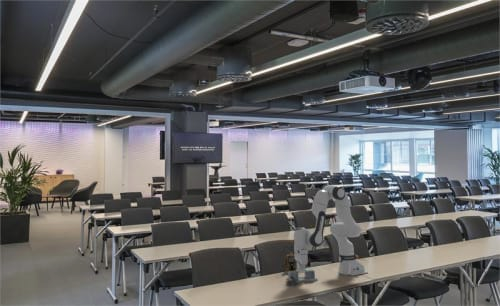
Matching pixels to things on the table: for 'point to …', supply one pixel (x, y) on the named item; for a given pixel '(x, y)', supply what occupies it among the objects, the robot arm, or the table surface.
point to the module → (300, 268)
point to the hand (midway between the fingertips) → (301, 268)
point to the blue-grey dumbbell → (308, 277)
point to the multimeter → (290, 262)
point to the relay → (292, 282)
